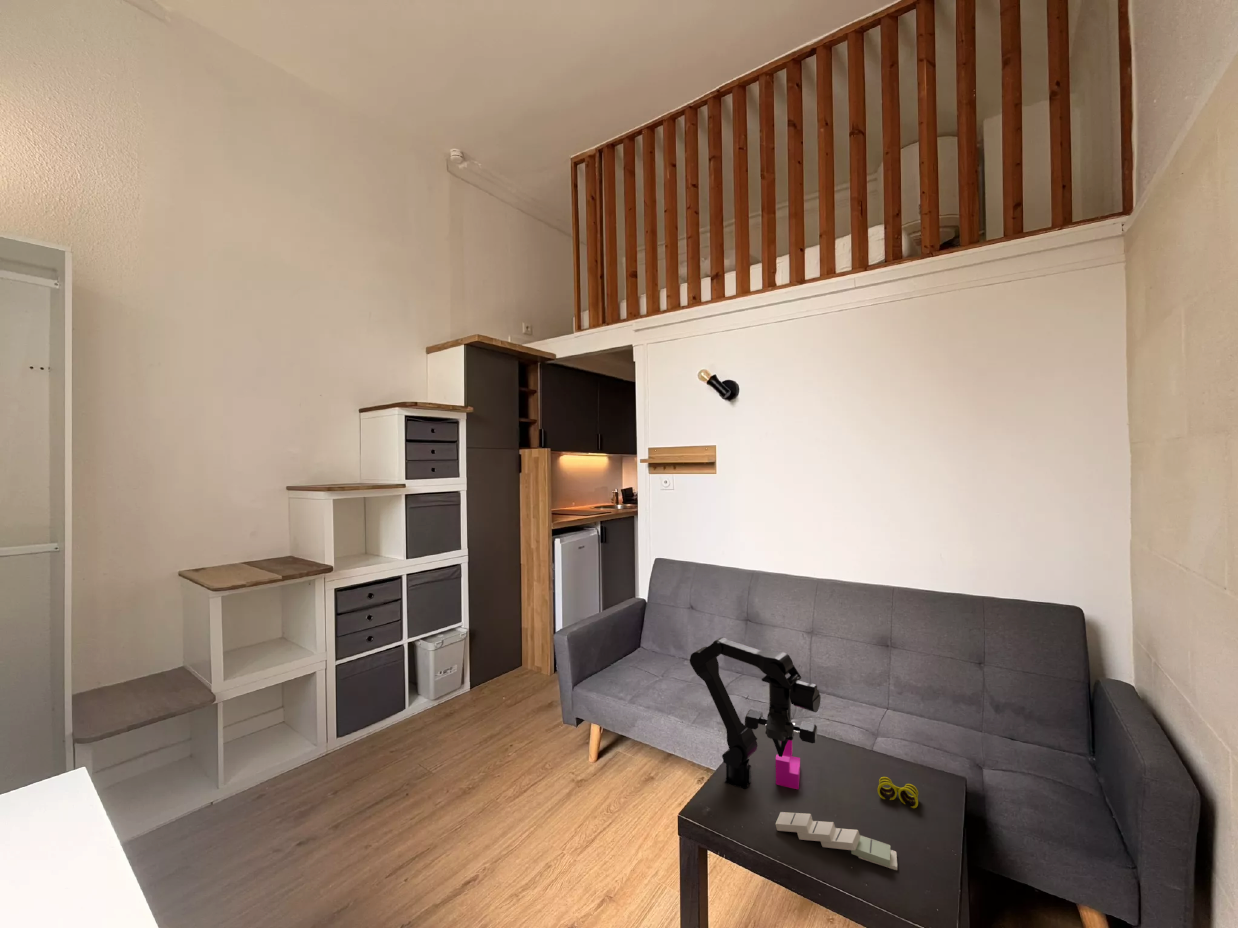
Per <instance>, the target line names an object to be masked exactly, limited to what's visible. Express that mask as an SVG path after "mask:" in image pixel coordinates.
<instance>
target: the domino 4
mask: <svg viewBox="0 0 1238 928" xmlns="http://www.w3.org/2000/svg"><path fill="white" fill-rule="evenodd" d="M897 857H898V856H897V851H895V850H893V849H891V854H890V867H888V866H885V865H882V864H879V863H876V862H873V861H871V860H868V859H865V858H862V857H859V856H858V859H859V860H864V861H867V862H870V863H873V864H876V865H879V866H882V867H886V868H887V869H888V868H889V869H891V870H894V871H898V858H897Z"/></svg>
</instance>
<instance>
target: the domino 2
mask: <svg viewBox="0 0 1238 928" xmlns="http://www.w3.org/2000/svg"><path fill="white" fill-rule="evenodd" d="M836 828H837V827H836V825H835V822H834V821H823V820H822V821H821V820H820V821H819V820H813V822H812V824H811V827H810V830H809V833H802V832H796V833H797V837H798V840H800V841H801V840H804V841H815V842H820V841H824V842H832V839H833V836H834V833H835V830H836Z"/></svg>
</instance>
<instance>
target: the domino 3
mask: <svg viewBox="0 0 1238 928" xmlns="http://www.w3.org/2000/svg"><path fill="white" fill-rule="evenodd" d="M835 828H836V830H835V833H834V836H833V839H832V842H824V841H819V842H820V844H821V846H822V848H829V849H838V850H848V851H851V850H855V849H856V847H857V845H858V842H859V840H860V835H861V834H860V832H859V830H858V829H850V828H838V827H835Z"/></svg>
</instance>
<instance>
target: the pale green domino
mask: <svg viewBox="0 0 1238 928" xmlns="http://www.w3.org/2000/svg"><path fill="white" fill-rule="evenodd" d="M891 850H892V849H891V845H890V844H888V843H885V842H882V841H879V840H876V839H873V838H869V837H867V836H864V835H861V834H860V840H859V842H858V845H857V847H856V849H855V850H850V851H851V852H850V853H851V855H854V856H856V857H858V858H859V857H862V858H865V859H868V860H871V861H873V862H876V863H879V864H882V865H885V866H888V867H890V854H891ZM876 863H875V864H876ZM879 864H878V865H879ZM882 865H881V866H882ZM885 866H884V867H885ZM888 867H887V868H888Z"/></svg>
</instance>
